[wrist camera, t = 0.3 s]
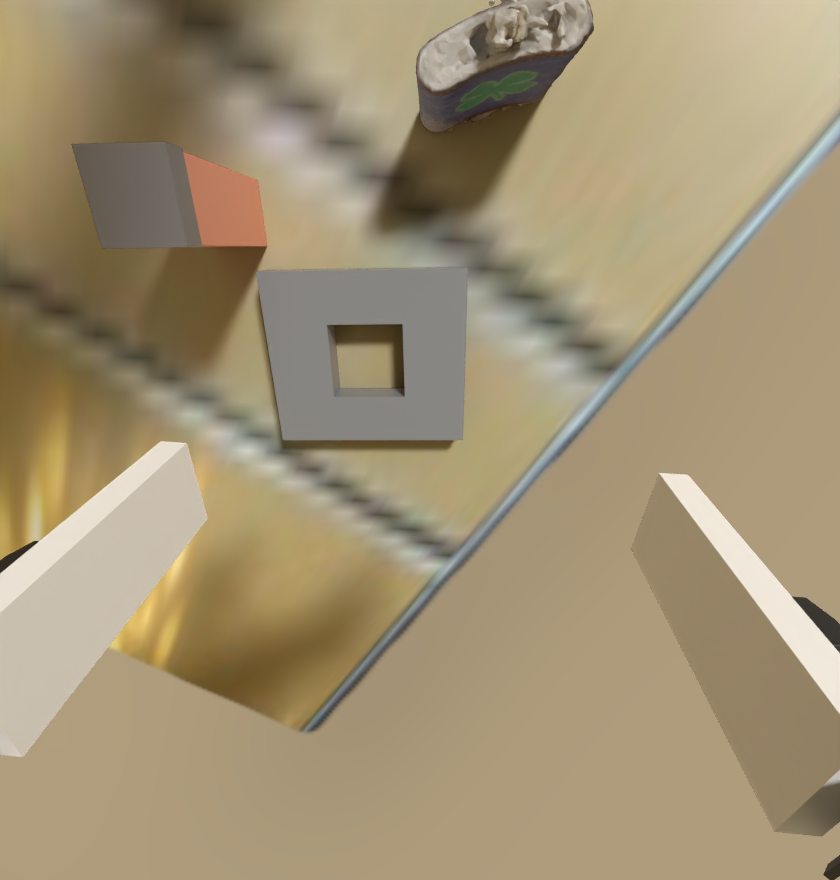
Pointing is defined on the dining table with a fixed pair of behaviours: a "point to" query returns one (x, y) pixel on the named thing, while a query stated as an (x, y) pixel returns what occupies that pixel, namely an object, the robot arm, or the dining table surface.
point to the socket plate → (359, 303)
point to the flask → (498, 59)
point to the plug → (167, 198)
